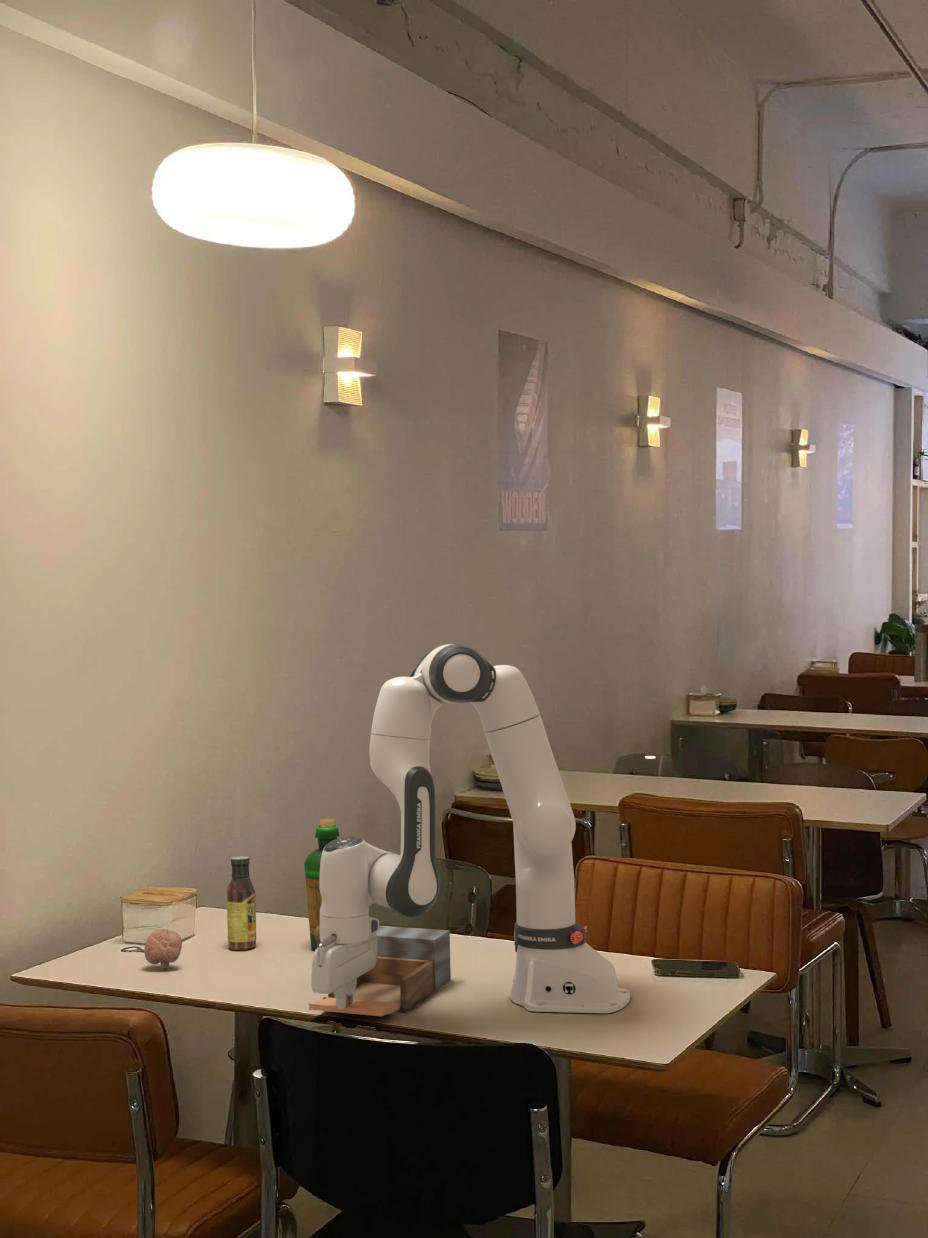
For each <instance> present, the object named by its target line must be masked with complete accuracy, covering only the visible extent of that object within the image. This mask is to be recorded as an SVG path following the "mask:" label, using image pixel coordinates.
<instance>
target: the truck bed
mask: <svg viewBox="0 0 928 1238" xmlns="http://www.w3.org/2000/svg"><path fill="white" fill-rule="evenodd" d="M376 933H377V939H378V943H377V961H376V964H375V967H374V968H373V969H371V970H370V971H368V972H366V973H364V974H363V975H361V976H359V977H358V978H357V984H356V988H355V991H354V1000H364V1001H375V1002H386V1003H398V1004H400V1009H399V1010H397V1011H394V1012H396V1013H397V1012H398V1013H406V1014H407V1013H408V1012H410V1011H411V1010H413V1009H414V1008H415V1007H417V1006H418V1005H419V1004H421V1003H422V1002H424V1001H425V1000H426V999H427V998H429V997H431V996H432V995H433V994H435V993H436V992H437V991H439V990H440V989H442V988H444V986H446V985H447V984H448V983H450V982H451V981H452V979H451V978H452V976H451V975H452V974H451V971H452V970H451V940H450V939H451V936H450V935H451V934H450V933H451V932H450V930H447V929H446V930H445V929H434V928H432V929H431V928H421V927H420V928H419V927H418V928H417V927H403V926H390V925H389V926H387V925H379V930H378V931H376ZM329 997H330V998H335V995H334V993H333V992H332V993H330V994H327V997H326V996H323V998H322V1000H323V999H326V998H329Z"/></svg>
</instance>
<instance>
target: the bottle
mask: <svg viewBox="0 0 928 1238" xmlns="http://www.w3.org/2000/svg"><path fill="white" fill-rule="evenodd" d="M314 834H315V835H314V837H315V838H317V843H318V844H317V845H318V848H317V849H315V850H314V851H312V852H310V854H308V855H307V857H306V859H305V861H304V876H305V888H306V901H307V902H306V903H307V914H308V923H309V924H308V926H309V935H310V936H309V938H310V948H311V949H312V950H314V951H315V950H316V949H317V941H316V940H315V937H314V931H315V929H316V927H317V926H319V925H320V908H321V904H322V897H321V893H320V862H321V856H322V852H323V849H324V847H325V846H326V845H327V844H328V843H329V842H331V841H333V840H335V839H338V838H341V837H340V832H339V825H337V824H335V819H333V818H325V819H324V818H323V819H320V820H319V825H317V826H316V829H315V833H314Z"/></svg>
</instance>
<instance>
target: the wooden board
mask: <svg viewBox="0 0 928 1238" xmlns="http://www.w3.org/2000/svg"><path fill="white" fill-rule="evenodd" d="M399 1009H400V1004H398V1003H386V1002H375V1001H364V1000H354V1002H353V1003H352V1004H350V1005H348V1006H347V1007H346V1008H344V1009H340V1008H337V1007H336V998H330V997H329V998H326V999H323V998H322V999H320V1000H317V1001H314V1002H311V1003H309V1004H308V1010H309V1011H319V1012H333V1013H341V1014H352V1015H353V1014H355V1015H365V1016H375V1017H383V1016H386V1015H390V1014H392V1013H393V1012H395V1011H397V1010H399Z"/></svg>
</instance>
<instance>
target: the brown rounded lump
mask: <svg viewBox="0 0 928 1238" xmlns="http://www.w3.org/2000/svg"><path fill="white" fill-rule="evenodd" d="M147 937H148V938H146V942H145V944H144V947H143V948H144V949H143V950H144V952H143V953H144V958H145V961H147V962H148V963H149V964H151V965H159V964H160V965H161V967H162V968H163V969H165V970H168V969H169V968H170V964H171V963H174V962H176V961H177V960H178V959H179V957H180V955H181V951H182V948H183V947H182V946H183V942H182V938H181V936H180V934H179V933H178V932H176V931H174V930H171V929H170V930H169V929H165V928H159V929H156V930H154V931H152V932H151V933H149V936H147Z"/></svg>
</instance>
